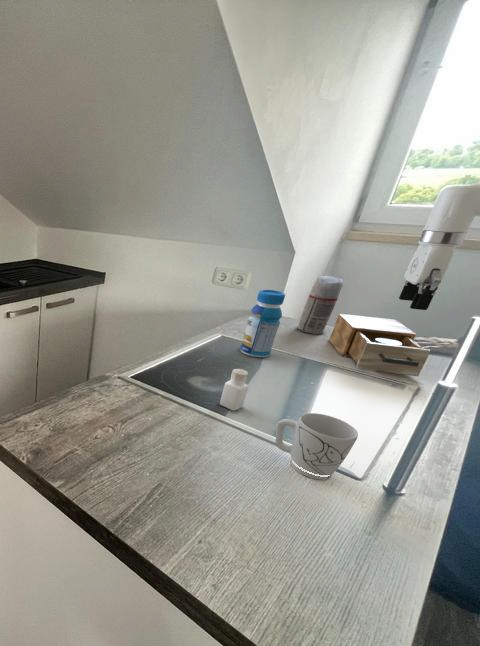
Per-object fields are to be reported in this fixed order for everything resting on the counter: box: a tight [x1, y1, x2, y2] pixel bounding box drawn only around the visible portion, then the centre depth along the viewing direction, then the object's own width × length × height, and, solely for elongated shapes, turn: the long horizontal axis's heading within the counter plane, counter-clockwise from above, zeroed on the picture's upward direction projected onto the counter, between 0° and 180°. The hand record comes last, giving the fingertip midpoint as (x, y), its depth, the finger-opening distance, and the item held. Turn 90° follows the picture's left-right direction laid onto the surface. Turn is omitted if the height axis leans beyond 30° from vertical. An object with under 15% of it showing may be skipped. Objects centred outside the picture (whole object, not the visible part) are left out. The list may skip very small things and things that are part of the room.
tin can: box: [374, 338, 402, 346], centre depth 113 cm, size 6×6×6 cm
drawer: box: [347, 330, 432, 377], centre depth 112 cm, size 18×13×8 cm
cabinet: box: [329, 313, 417, 358], centre depth 123 cm, size 15×15×10 cm
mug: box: [274, 412, 359, 481], centre depth 73 cm, size 11×8×10 cm
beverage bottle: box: [240, 289, 286, 358], centre depth 120 cm, size 8×8×20 cm
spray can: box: [296, 274, 344, 335], centre depth 139 cm, size 8×8×20 cm
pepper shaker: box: [219, 368, 249, 411], centre depth 93 cm, size 4×4×10 cm
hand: (412, 304), depth 104 cm, fingers open, 9 cm apart
